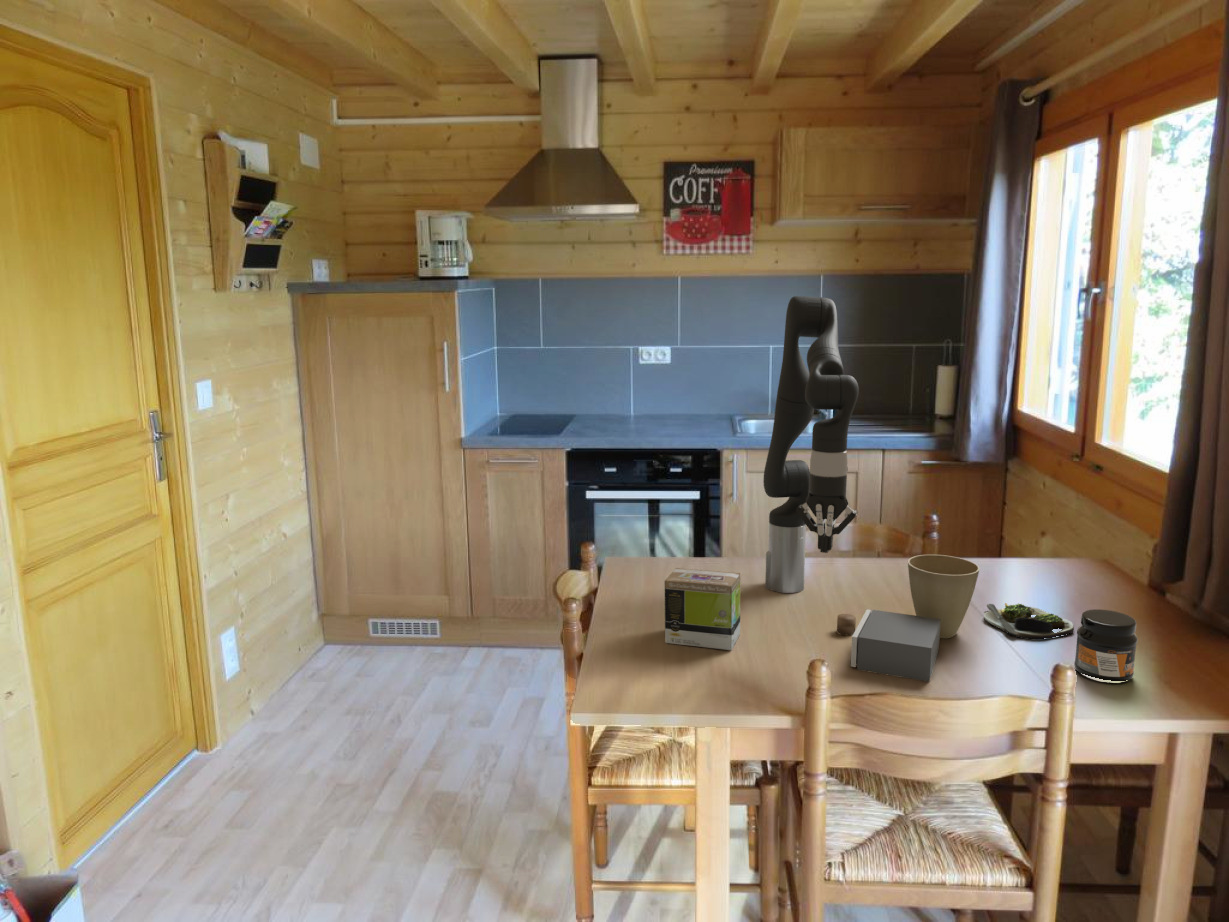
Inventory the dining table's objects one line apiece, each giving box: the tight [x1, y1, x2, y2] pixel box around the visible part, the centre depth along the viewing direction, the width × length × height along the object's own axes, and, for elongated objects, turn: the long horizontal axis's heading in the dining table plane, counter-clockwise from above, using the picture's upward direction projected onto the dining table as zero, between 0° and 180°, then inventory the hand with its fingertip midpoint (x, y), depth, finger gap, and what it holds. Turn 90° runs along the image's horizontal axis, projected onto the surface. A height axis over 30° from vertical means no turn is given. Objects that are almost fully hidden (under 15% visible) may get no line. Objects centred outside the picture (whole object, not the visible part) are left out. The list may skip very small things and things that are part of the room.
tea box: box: [664, 567, 741, 651], centre depth 199 cm, size 15×10×15 cm, turn 71°
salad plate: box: [983, 603, 1075, 640], centre depth 208 cm, size 19×18×5 cm
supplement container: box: [1073, 608, 1138, 681], centre depth 180 cm, size 10×10×12 cm
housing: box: [856, 609, 941, 682], centre depth 188 cm, size 14×17×7 cm
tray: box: [850, 609, 873, 668], centre depth 189 cm, size 14×17×6 cm
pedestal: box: [836, 613, 857, 636], centre depth 204 cm, size 4×4×4 cm
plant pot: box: [907, 554, 980, 639], centre depth 202 cm, size 15×15×16 cm
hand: (825, 551), depth 192 cm, fingers closed
